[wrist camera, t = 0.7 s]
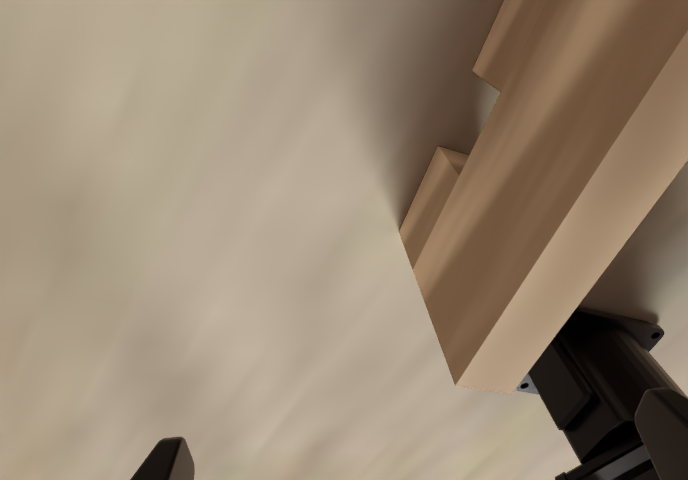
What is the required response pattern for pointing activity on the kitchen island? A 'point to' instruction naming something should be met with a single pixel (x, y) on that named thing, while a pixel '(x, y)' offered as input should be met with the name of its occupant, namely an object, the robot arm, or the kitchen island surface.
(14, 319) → the kitchen island surface
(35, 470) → the kitchen island surface
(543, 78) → the upright wooden plank
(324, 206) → the kitchen island surface
